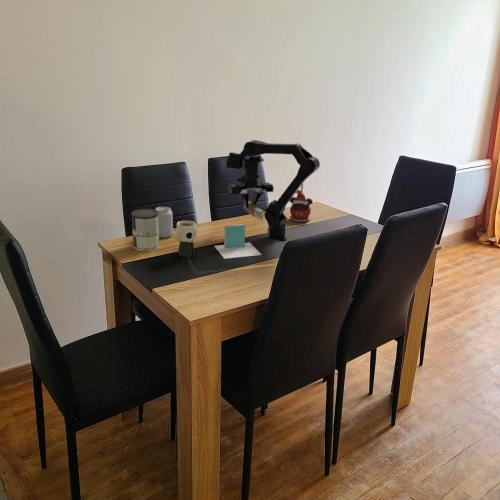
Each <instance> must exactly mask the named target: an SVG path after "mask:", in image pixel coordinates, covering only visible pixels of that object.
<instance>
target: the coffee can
mask: <svg viewBox="0 0 500 500" xmlns="http://www.w3.org/2000/svg"><path fill="white" fill-rule="evenodd" d="M130 214H131V224H132V227H131V228H132V229H131V230H132V242H133V243H132V244H133V246H132V247H133V249H134V250H136V251H138V252H139V251H140V252H149V251H151V252H152V251H155V250H158V249H159V248H160V238H159V224H158V211H156V209H153V208H139V209H135V210H133V211H131V213H130Z"/></svg>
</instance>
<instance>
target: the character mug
mask: <svg viewBox="0 0 500 500" xmlns="http://www.w3.org/2000/svg"><path fill="white" fill-rule="evenodd" d="M196 223H197V222H195V221H193V220H192V221H191V220H181V221H177V223H176V231H175V239H176V240H177V241H179V243H178V244H179V245H178V252H177V254H178V256H179V257H181V258H191V257H193V256H195V255H196V254H195V253H196V251H195V245H194V241H196V238H197V225H196Z"/></svg>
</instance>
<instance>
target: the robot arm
mask: <svg viewBox="0 0 500 500" xmlns="http://www.w3.org/2000/svg"><path fill="white" fill-rule="evenodd" d="M265 154H268V155H269V154H270V155H271V154H272V155H276V154H277V155H292V156H293V157H294V160H295V161H296V163H297V164H298V165H299V168H298V170H297V173H296V176H295V177H294V178H293V179H292V181H291V182H290V183H289V185H288V186H287V187H286V189H285V190H284V191H283V193H282V194H281V195H280V197H279V198H278V199H277V200H276V199H273V200H272V201H270V203H269V204H268V206H267V208H265V209H264V212H263V217H264V219H265V220H266V222H267V225H268V226H267V236H266V237H267V238H268V239H271V240H273V239H274V240H278V241H286V240H287V238H286V223H287V221H288V217H287V216H286V215H285V214H284V212H285V209H286V207H287V205H288V203H289V201H290V199H291V198H292V197H294V195H295V194H297V193H296V192H297V190H300V189H301V185H302V184H303V185H304V183H305V181H306V180H307V179H308V178H309V177H311V176H312V175H313V174H314V173H315V172H316V171H317V170H318V169H320V167H321V166H320V165H321V164H320V161H319V159H318V157H315V156H313V155H312V154H311V152H309V151H308V150H307V149H305V148H304V147H303V146H302V144H301V143H270V142H269V143H268V142H265V141H263V140H257V139H252V140H249V141H247V142H246V143H244V146H243V149H242V151H241V152H240V153H237V152H229V153H228V157H227V160H226V167H227V169H230V170H235V171H236V170H238V171H242V170H243V169H244V172H243V173H242V175H241V174H235V179H234V181H235V183H231V184H228V186H227V191H228V193H230V194H231V195H239V194H240V195H241V198H242V199H243V204H244V203H245V206H246V208H248V201H250V200H249V199H250V198H249V197H250V194H249V193H248V191H252V201H251V202H252V203H253V204H255V205H256V204H257V203H258V201H259V199H260V198H261V196H262V195H264V191H263V190H265V192H267V193H271V192H272V193H273V192H274V185H273V184H271V183H270V182H260V184H259V178H260V174H259V170H260V169H259V167H260V166H259V165H260V164H259V163H262V162H264V161H265V159H264V158H263V157H262V156H261V155H265ZM238 183H239V184H238ZM256 206H257V205H256Z"/></svg>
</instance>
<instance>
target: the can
mask: <svg viewBox="0 0 500 500" xmlns="http://www.w3.org/2000/svg"><path fill="white" fill-rule="evenodd" d="M155 210H156V211H158V224H159V239H168V237H169V238H171V237H172V236H173V234H174V228H173V227H174V226H173V225H174V224H173V223H174V222H173V211H172V209H171V207H168V206H157V207H156V208H155Z"/></svg>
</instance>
